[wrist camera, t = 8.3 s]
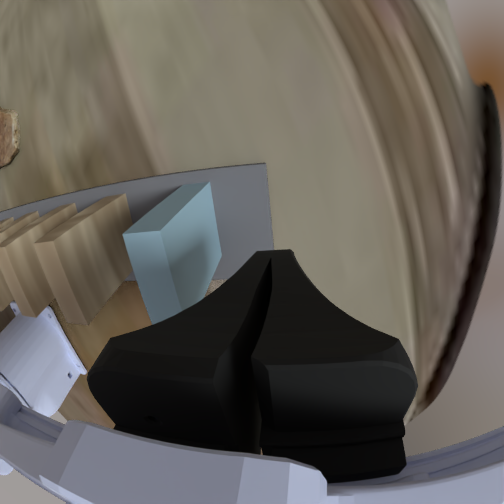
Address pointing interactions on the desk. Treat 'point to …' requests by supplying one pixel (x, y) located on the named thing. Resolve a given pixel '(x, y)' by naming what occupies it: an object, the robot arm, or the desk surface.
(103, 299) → the tile
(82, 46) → the desk surface
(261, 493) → the robot arm
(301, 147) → the desk surface
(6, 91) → the desk surface
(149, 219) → the tile
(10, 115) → the pottery shard
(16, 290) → the tile
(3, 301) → the tile
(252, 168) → the felt runner
